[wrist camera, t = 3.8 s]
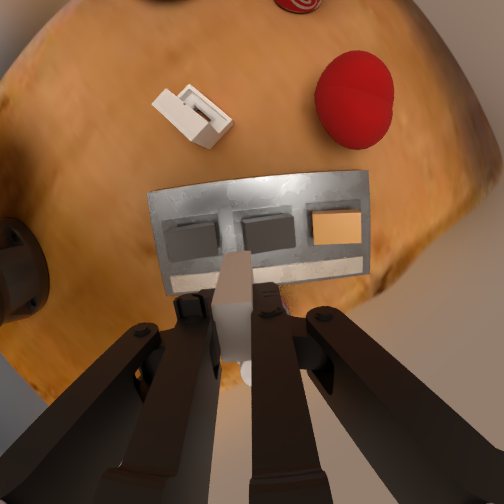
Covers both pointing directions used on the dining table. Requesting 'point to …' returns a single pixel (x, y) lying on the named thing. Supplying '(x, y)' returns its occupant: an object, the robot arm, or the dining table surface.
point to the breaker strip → (260, 205)
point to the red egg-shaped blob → (355, 99)
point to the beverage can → (299, 5)
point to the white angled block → (194, 116)
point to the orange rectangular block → (336, 226)
